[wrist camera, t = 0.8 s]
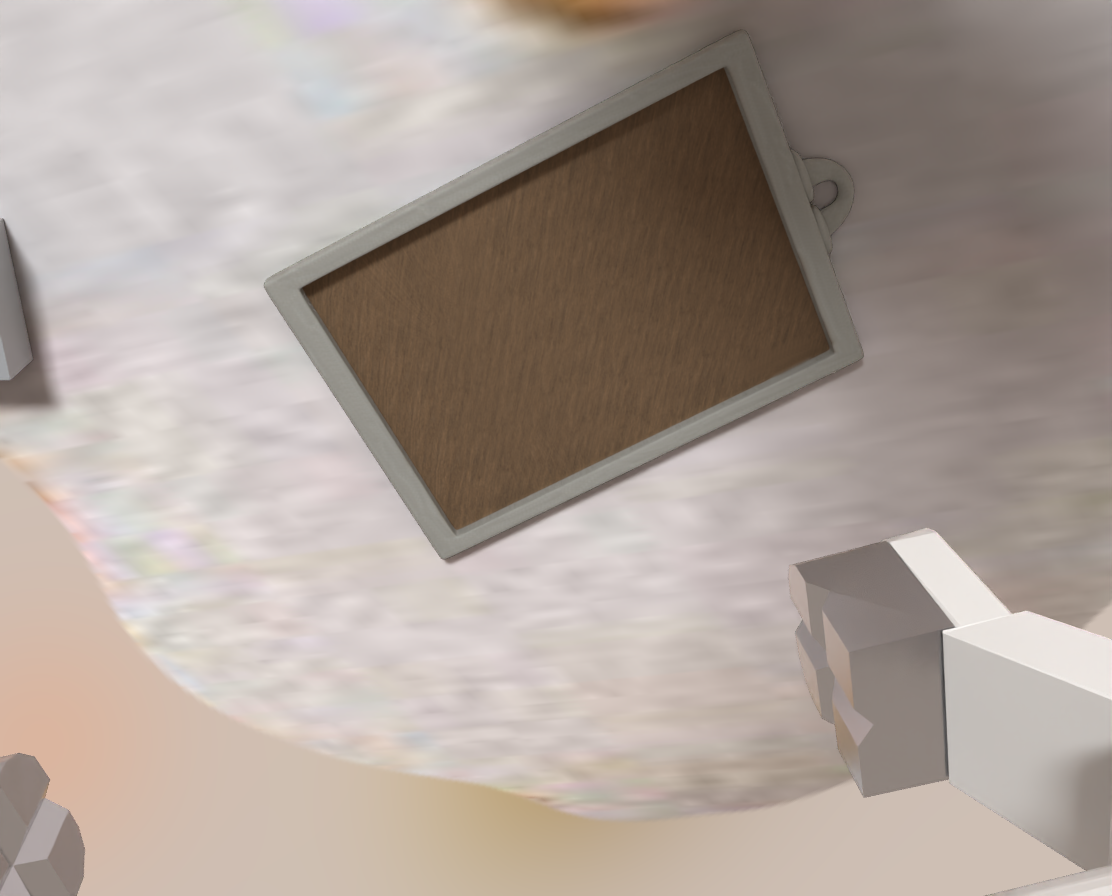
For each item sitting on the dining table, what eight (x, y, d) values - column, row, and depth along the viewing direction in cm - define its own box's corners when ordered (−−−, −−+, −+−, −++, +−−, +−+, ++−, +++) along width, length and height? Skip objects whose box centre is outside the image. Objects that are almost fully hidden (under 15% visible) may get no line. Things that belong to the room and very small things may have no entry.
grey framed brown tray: (260, 285, 50) (798, 2, 47) (265, 277, 52) (787, 2, 48) (441, 562, 58) (909, 337, 55) (441, 548, 60) (897, 328, 57)
